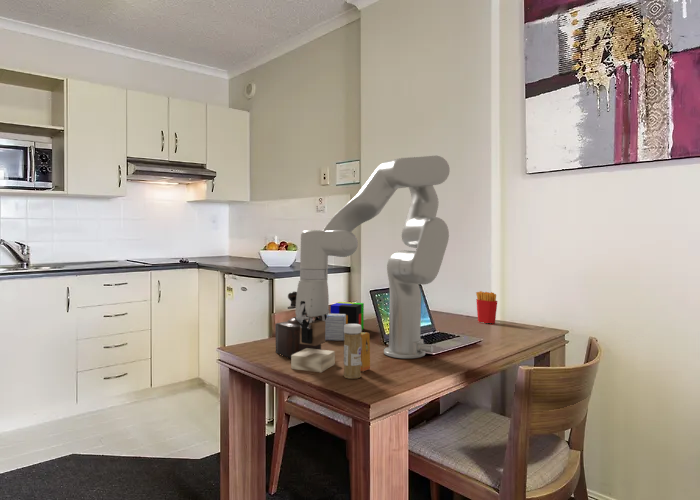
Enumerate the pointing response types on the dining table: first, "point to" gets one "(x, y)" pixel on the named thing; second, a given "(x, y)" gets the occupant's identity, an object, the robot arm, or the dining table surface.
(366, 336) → the supplement box
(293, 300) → the manual coffee grinder
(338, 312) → the puzzle toy
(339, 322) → the medicine box
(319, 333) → the walnut block
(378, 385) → the dining table surface
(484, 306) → the french fries
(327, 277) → the robot arm
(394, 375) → the dining table surface
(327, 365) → the birch block
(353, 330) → the sprinkles bottle
